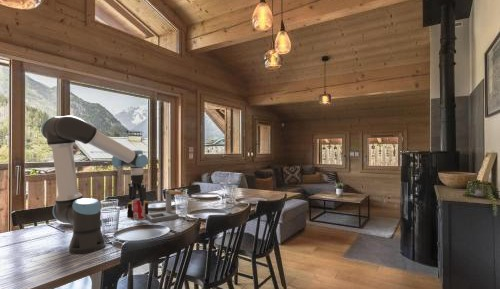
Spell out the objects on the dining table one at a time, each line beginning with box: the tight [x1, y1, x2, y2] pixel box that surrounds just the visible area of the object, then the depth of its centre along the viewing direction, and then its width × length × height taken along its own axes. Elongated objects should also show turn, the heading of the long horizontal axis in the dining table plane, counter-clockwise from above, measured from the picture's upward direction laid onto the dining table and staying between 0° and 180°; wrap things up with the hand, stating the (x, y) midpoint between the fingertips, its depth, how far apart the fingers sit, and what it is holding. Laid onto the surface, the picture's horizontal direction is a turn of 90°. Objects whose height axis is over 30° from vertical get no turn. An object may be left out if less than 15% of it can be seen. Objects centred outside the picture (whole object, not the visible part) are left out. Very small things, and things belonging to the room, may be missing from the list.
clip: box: [165, 188, 186, 196], centre depth 191 cm, size 15×4×3 cm, turn 67°
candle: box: [126, 200, 149, 219], centre depth 192 cm, size 10×10×10 cm
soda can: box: [133, 197, 146, 221], centre depth 176 cm, size 7×7×13 cm
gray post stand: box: [145, 193, 179, 223], centre depth 187 cm, size 18×14×15 cm
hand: (137, 210), depth 176 cm, fingers closed on soda can, 6 cm apart
